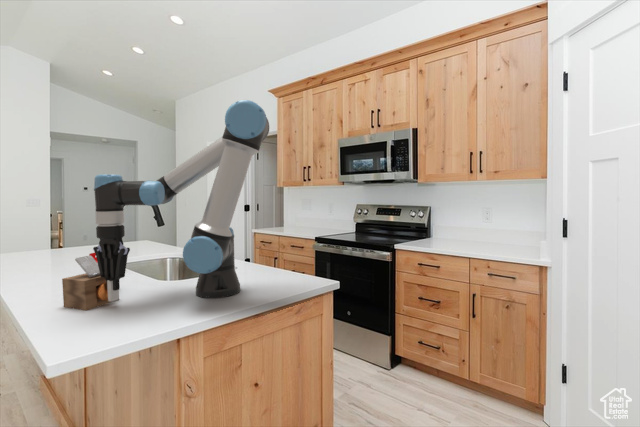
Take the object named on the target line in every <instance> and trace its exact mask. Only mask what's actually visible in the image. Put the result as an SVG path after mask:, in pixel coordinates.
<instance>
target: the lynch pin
mask: <svg viewBox="0 0 640 427" xmlns="http://www.w3.org/2000/svg"><path fill="white" fill-rule="evenodd" d="M96 292H97V297H98V298H99V299H100V300H104V301H108V290H107V284H106V282H105V283H102V284H101V285H100V286H96Z"/></svg>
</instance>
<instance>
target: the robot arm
mask: <svg viewBox="0 0 640 427" xmlns="http://www.w3.org/2000/svg"><path fill="white" fill-rule="evenodd" d="M224 125H225V128H224V131H223V134H222V136H221V137H219V138H217V139H216V140H215V141H213V142H211V143H210V144H209V145H207V146H206V147H203V149H202V150H200V151H199V152H197V153H195V154H194V155H192V156H191V157H190V158H188V159H186V160H185V161H183V162H182V163H180V164H179V165H178V166H176V167H175V168H173V169H171V170H170V171H168V172H167V173H165V174H164V175H163V176H161V177H160V178H158V179H156V180H133V181H132V180H131V181H130V180H129V181H128V180H124V179H123V176H122V175H121V174H105V173H103V174H96V175H95V177H94V184H93V185H94V188H93V191H94V202H95V203H94V204H95V225H97V226H96V227H95V230H96V234H95V235H96V238H97V239H98V240H99V242H98V245H97V246H94V247H93V249H92V250H93V253H95V254H96V256H95V257H97V262H98V266H99V271H100V276H101V277H104V278H105V280H106V284H107V290H108V301H110V302H111V303H113V302H112V301H114V302H116V301H115V300H117V301H119V300H120V279H122V278H125V277H126V269H127V264H128V262H127V261H128V255H129V253H130V251H131V248H130V247H126V246H125V245H124V241H123V238H124V237H125V234H126V233H125V225H124V223H125V215H124V212H125V211H124V210H125V209H124V206H148V207H151V206H160V205H165V204H168V203H169V202H172V200H174V197H176V196H177V195H178V194H179V193H180V192H182V191H184V190H185V189H187V188H188V187H190V186H191V185H193V184H194V183H196V182H197V181H199V180H200V179H202V178H203V177H205V176H207V175H208V174H209V173H211V172H213V171H214V170H216V169H217V170H216V174H215V176H214V177H215V178H214V180H213V182H212V183H213V184H212V186H211V187H212V188H211V190H210V193H209V196H208V200H207V203H206V206H205V209H204V212H203V216H202V218H201V221H199V222H196V223H195V224H194V227H193V230H192V233H191V237H190V239H188V240H187V242H186V243H185V245H184V247H183V249H182V259H183V261H184V263H185V266H186V267H187V268H188V269H189V270H191V271H192V272H194V273H197V274H198V279H197V282H196V283H197V284H196V285H195V295H196V296H198V297H200V298H206V299H216V298H217V299H218V298H226V297H230V296H234V295H236V294H238V293H240V292H241V283H240V280H239V278H238V274H237V273H236V269H235V268H236V267H235V265H236V264H235V234H234V228H232V227H231V223H232V220H233V217H234V214H235V211H236V208H237V205H238V202H239V198H240V195H241V191H242V188H243V185H244V182H245V179H246V177H247V173H248V169H249V166H250V163H251V161H252V157H253V156H254V155H256V154H257V153H259V152H260V149H261V145H262V142H264V141H265V140H266V139H267V138H268V135H269V133H270V122H269V119H268V117H267V115H266V113H265V110H264V109H263V108H262V106H260V105H259V104H258V103H256V102H254V101H253V100H249V99H240V100H237V101H235V102H233V103H232V104H231V105H230V106H229V107H227V110H226V111H225V115H224ZM104 272H105V273H104ZM118 299H119V300H118Z"/></svg>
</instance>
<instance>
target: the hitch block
mask: <svg viewBox="0 0 640 427" xmlns="http://www.w3.org/2000/svg"><path fill="white" fill-rule="evenodd" d="M61 280H62V281H61V282H62V296H63V297H62V300H63V308H67V307H68V308H67V309H73V308H74V309H76V310H80V309H81V311H88V310H92V309H95V308H99V307H102V306H104V305H108V304H110V303H113V302H116V301H119V300H120V298H119V299H118V300H115V301H112V302H110V301H104V300H100V299H99V298H98V297H97V292H96V286H100V285H101V284H102V283H105V282H106V280H105V278H104V277H101V276H96V277H92V278H88V275H87V274H86V273H82V274H77V275H73V276H67V277H64V278H62V279H61Z"/></svg>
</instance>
